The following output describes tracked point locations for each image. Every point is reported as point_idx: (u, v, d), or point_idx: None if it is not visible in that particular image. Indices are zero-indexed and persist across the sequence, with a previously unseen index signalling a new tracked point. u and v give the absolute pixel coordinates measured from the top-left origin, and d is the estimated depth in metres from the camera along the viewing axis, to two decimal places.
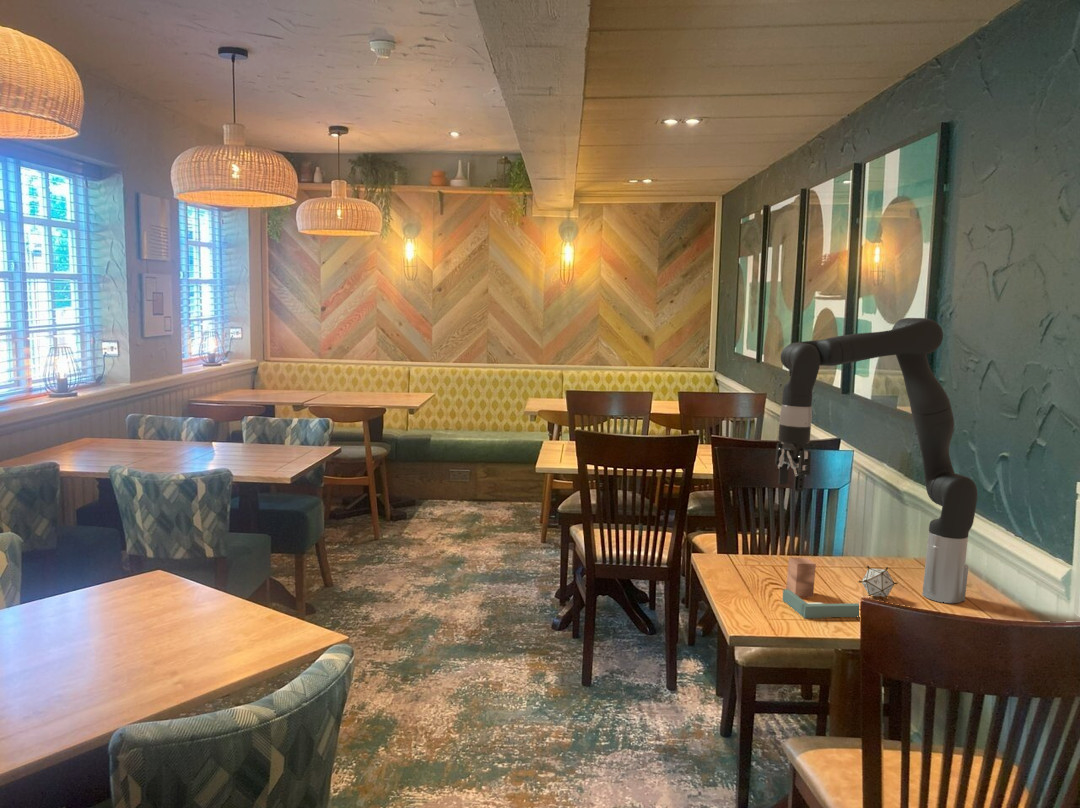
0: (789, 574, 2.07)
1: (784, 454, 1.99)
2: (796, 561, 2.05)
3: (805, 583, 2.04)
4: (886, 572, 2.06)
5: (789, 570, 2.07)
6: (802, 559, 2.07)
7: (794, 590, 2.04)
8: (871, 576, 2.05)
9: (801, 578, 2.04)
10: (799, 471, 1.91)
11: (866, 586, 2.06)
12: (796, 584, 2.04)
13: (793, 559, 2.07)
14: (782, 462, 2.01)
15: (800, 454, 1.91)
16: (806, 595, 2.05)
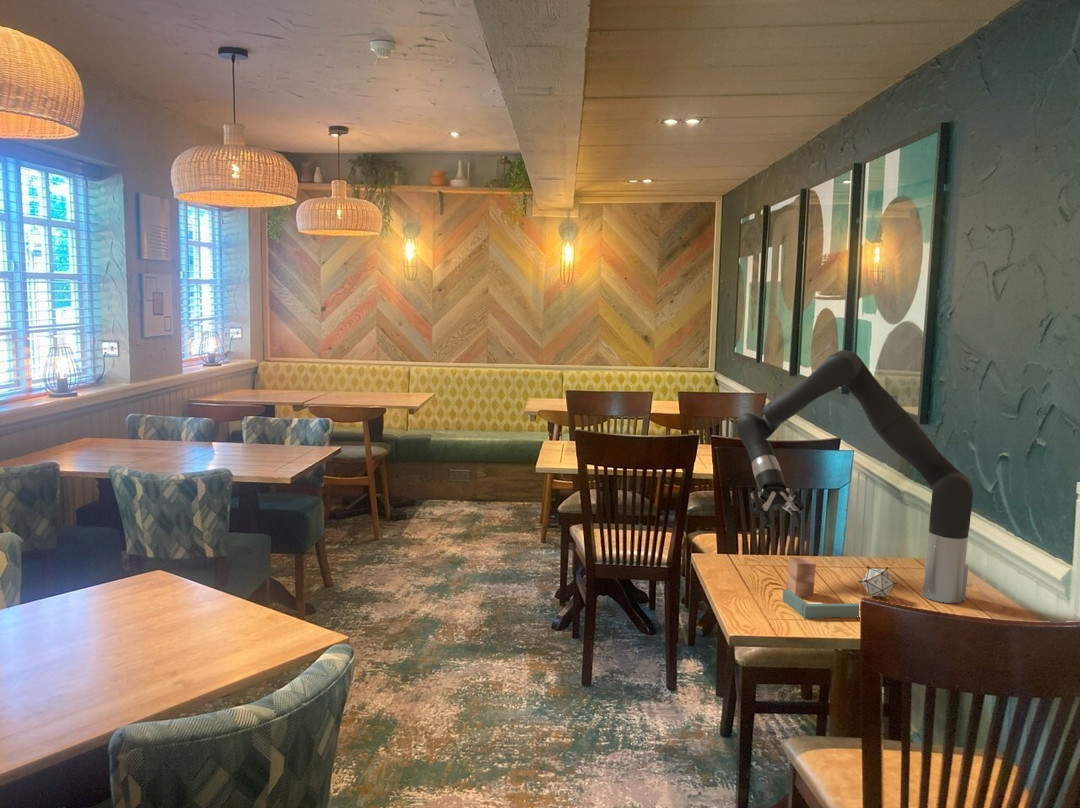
0: (789, 574, 2.07)
1: None
2: (796, 561, 2.05)
3: (805, 583, 2.04)
4: (886, 572, 2.06)
5: (789, 570, 2.07)
6: (802, 559, 2.07)
7: (794, 590, 2.04)
8: (871, 576, 2.05)
9: (801, 578, 2.04)
10: None
11: (866, 586, 2.06)
12: (796, 584, 2.04)
13: (793, 559, 2.07)
14: (786, 509, 2.21)
15: None
16: (806, 595, 2.05)
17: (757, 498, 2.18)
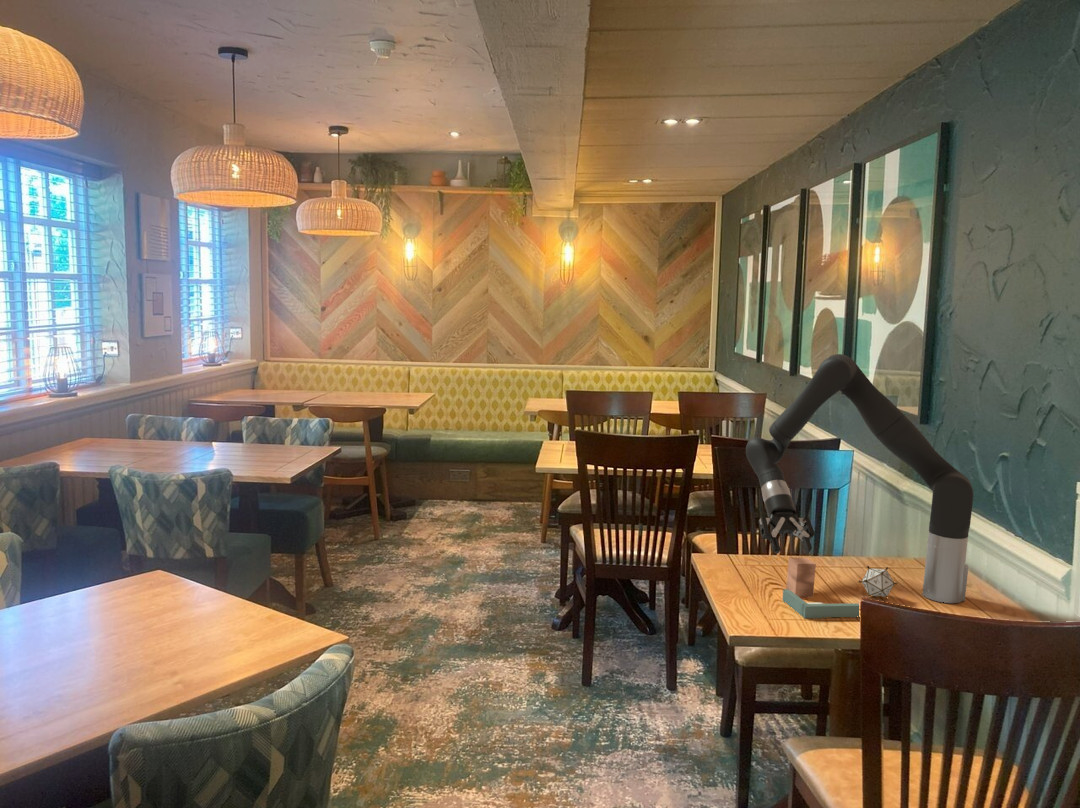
0: (789, 574, 2.07)
1: None
2: (796, 561, 2.05)
3: (805, 583, 2.04)
4: (886, 572, 2.06)
5: (789, 570, 2.07)
6: (802, 559, 2.07)
7: (794, 590, 2.04)
8: (871, 576, 2.05)
9: (801, 578, 2.04)
10: None
11: (866, 586, 2.06)
12: (796, 584, 2.04)
13: (793, 559, 2.07)
14: (796, 535, 2.16)
15: None
16: (806, 595, 2.05)
17: (765, 524, 2.14)
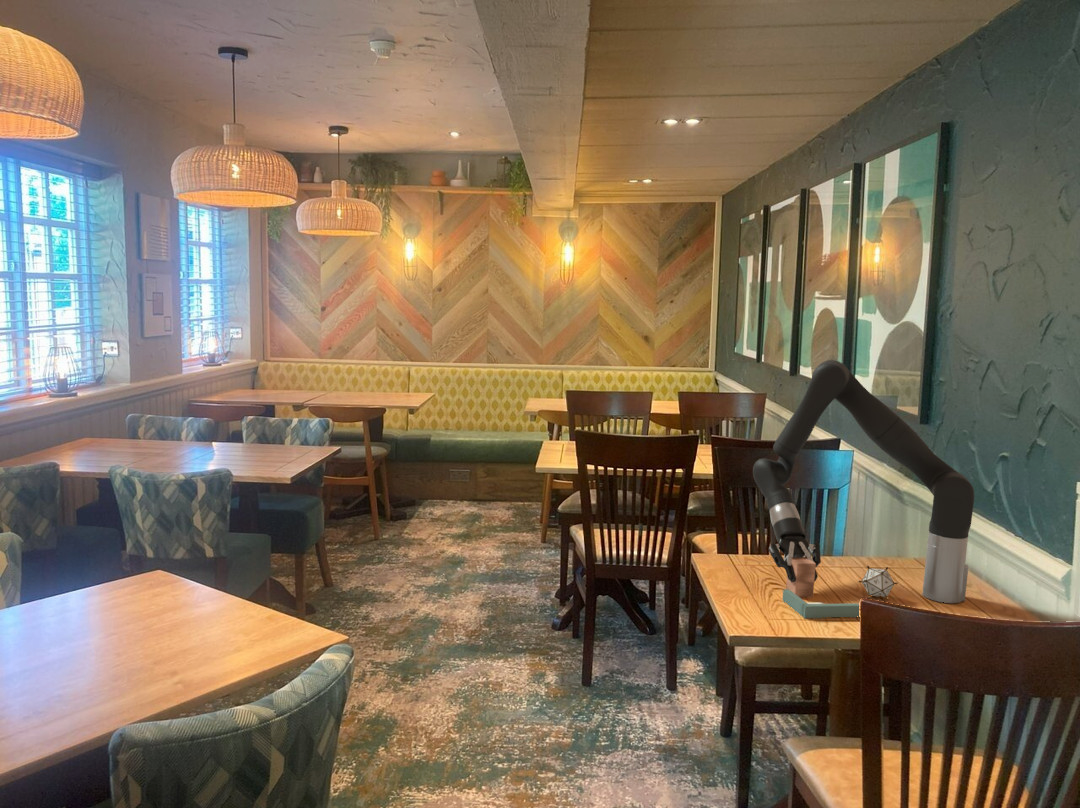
0: None
1: None
2: (796, 561, 2.05)
3: (805, 583, 2.04)
4: (886, 572, 2.06)
5: None
6: (802, 559, 2.07)
7: (794, 590, 2.04)
8: (871, 576, 2.05)
9: (801, 578, 2.04)
10: None
11: (866, 586, 2.06)
12: (796, 584, 2.04)
13: (793, 559, 2.07)
14: None
15: None
16: (806, 595, 2.05)
17: (778, 552, 2.08)
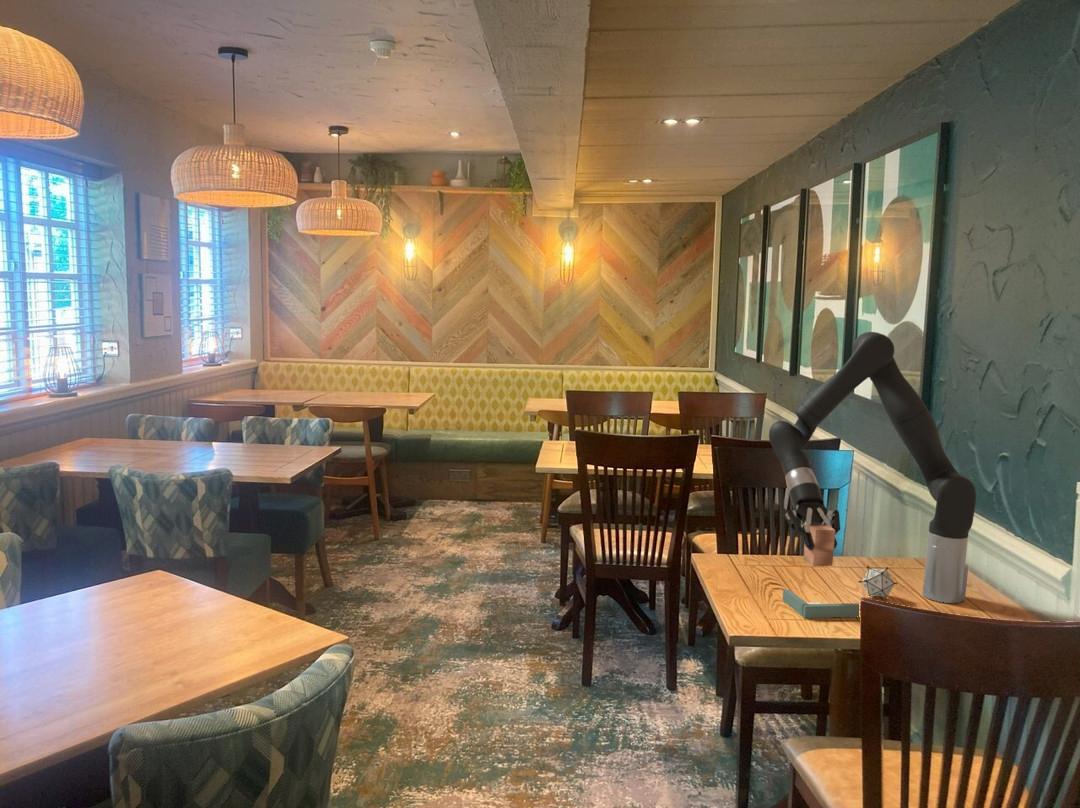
0: None
1: None
2: (814, 527, 1.93)
3: (823, 551, 1.92)
4: (886, 572, 2.06)
5: None
6: (820, 526, 1.95)
7: (812, 558, 1.93)
8: (872, 576, 2.05)
9: (820, 545, 1.92)
10: None
11: (866, 586, 2.06)
12: (814, 552, 1.92)
13: (811, 526, 1.95)
14: None
15: None
16: (825, 563, 1.93)
17: (795, 518, 1.96)
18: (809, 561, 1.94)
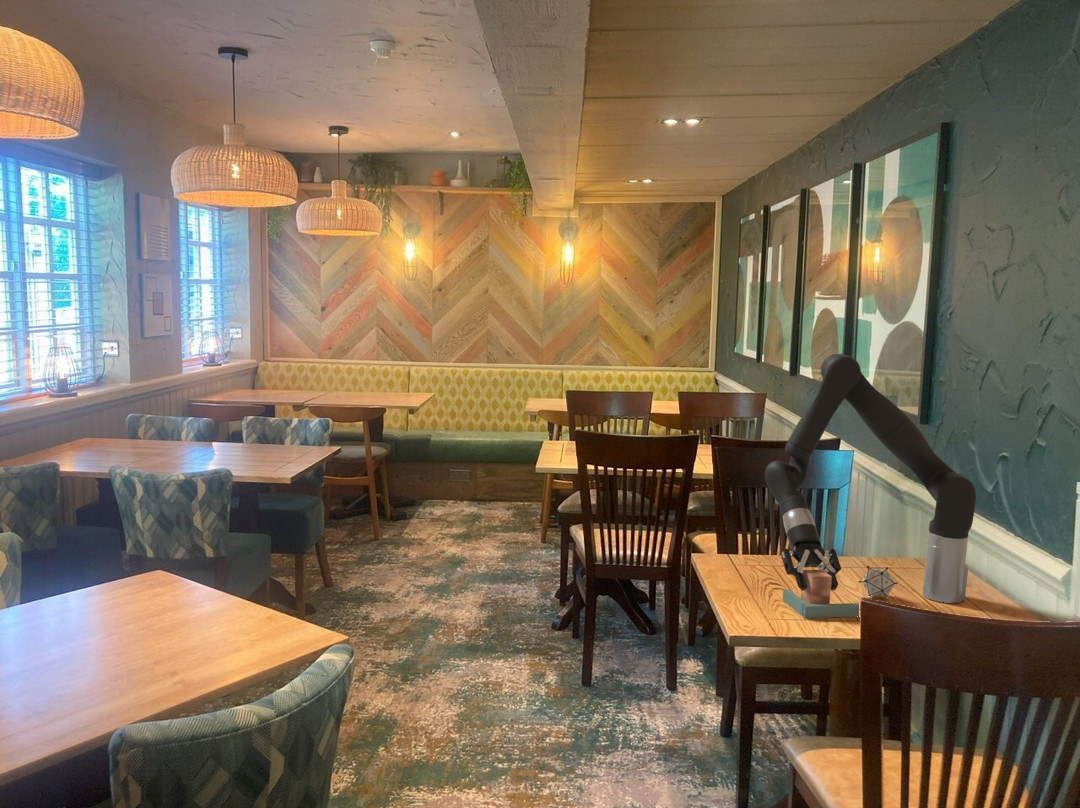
0: None
1: None
2: (811, 574, 1.94)
3: (820, 597, 1.93)
4: (886, 572, 2.06)
5: None
6: (817, 571, 1.96)
7: None
8: (871, 576, 2.05)
9: (816, 591, 1.93)
10: None
11: (866, 586, 2.06)
12: (811, 598, 1.93)
13: (808, 571, 1.96)
14: (821, 569, 1.99)
15: None
16: None
17: (789, 558, 1.97)
18: None
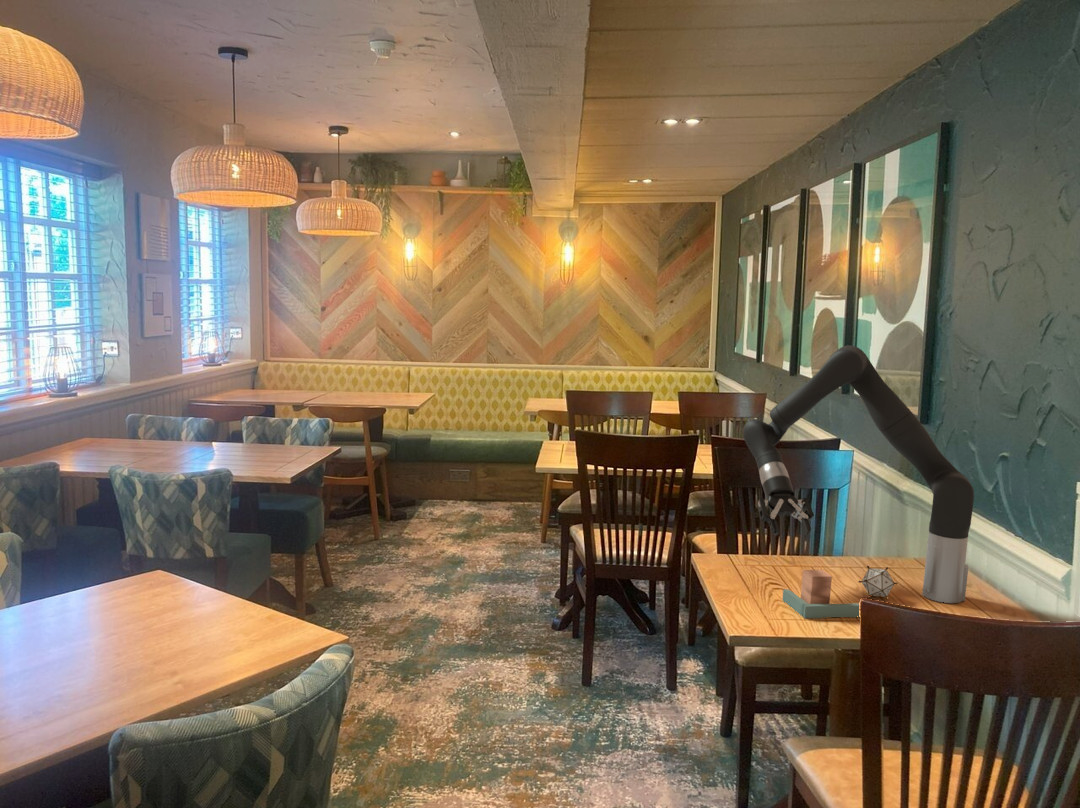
0: (803, 588, 1.96)
1: None
2: (811, 574, 1.94)
3: (820, 597, 1.93)
4: (886, 572, 2.06)
5: (804, 583, 1.96)
6: (817, 571, 1.96)
7: None
8: (871, 576, 2.05)
9: (816, 591, 1.93)
10: None
11: (866, 586, 2.06)
12: (811, 598, 1.93)
13: (808, 571, 1.96)
14: (795, 517, 2.13)
15: None
16: None
17: (764, 506, 2.11)
18: None
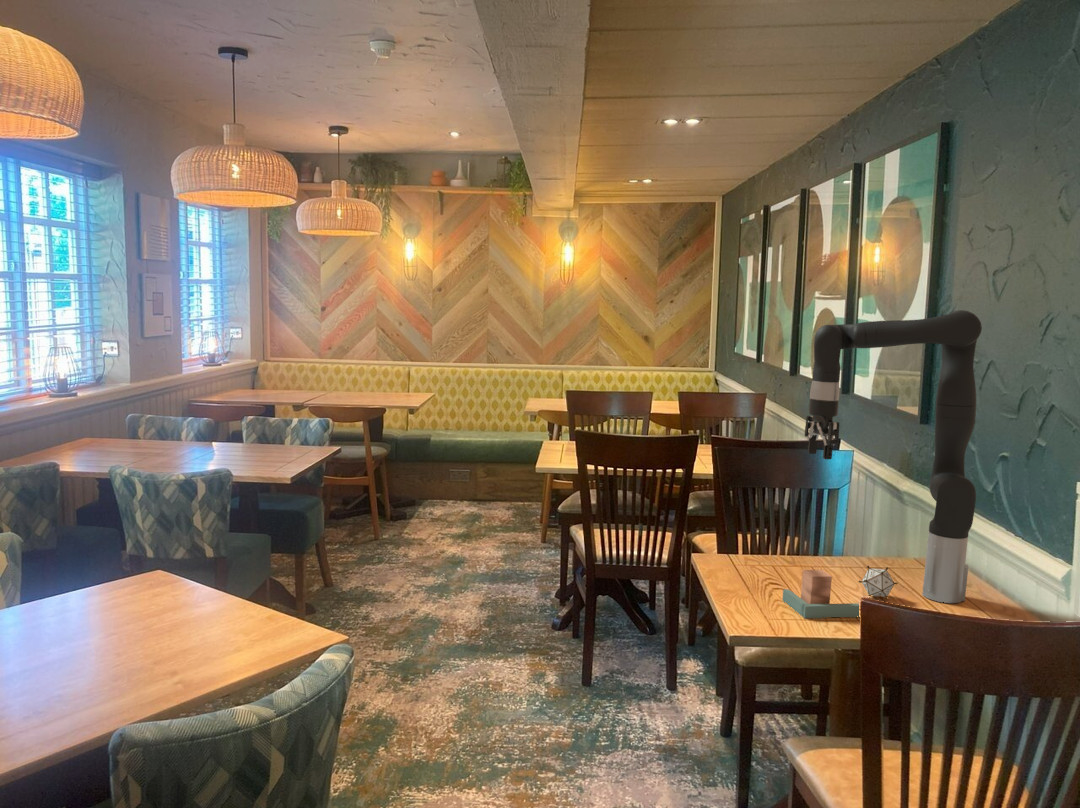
0: (803, 588, 1.96)
1: (814, 426, 2.18)
2: (811, 574, 1.94)
3: (820, 597, 1.93)
4: (886, 572, 2.06)
5: (804, 583, 1.96)
6: (817, 571, 1.96)
7: None
8: (872, 576, 2.05)
9: (816, 591, 1.93)
10: (828, 440, 2.11)
11: (866, 586, 2.06)
12: (811, 598, 1.93)
13: (808, 571, 1.96)
14: (811, 434, 2.21)
15: (829, 425, 2.11)
16: None
17: None
18: None
